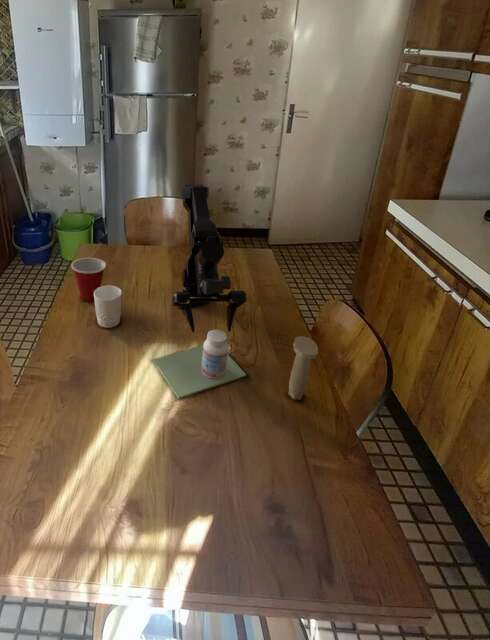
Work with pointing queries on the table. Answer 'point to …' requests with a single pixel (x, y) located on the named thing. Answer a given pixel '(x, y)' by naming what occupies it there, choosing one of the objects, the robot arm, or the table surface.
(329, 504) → the table surface
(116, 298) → the white cup
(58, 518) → the table surface
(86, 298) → the plastic cup
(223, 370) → the pill bottle
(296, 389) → the handle
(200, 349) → the mat
